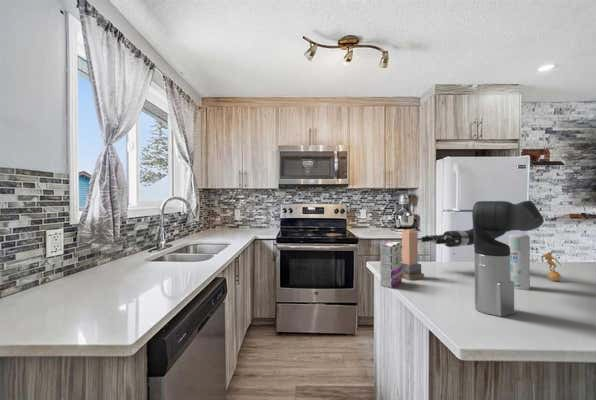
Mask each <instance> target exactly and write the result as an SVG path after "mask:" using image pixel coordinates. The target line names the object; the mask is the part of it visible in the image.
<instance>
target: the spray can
mask: <svg viewBox="0 0 596 400" xmlns="http://www.w3.org/2000/svg"><path fill="white" fill-rule="evenodd" d="M530 236H531V235H527V234H509V235H508V246H509V247H510V279H511V281H513V282H514V290H522V291H523V290H525V291H528V290H530V289H531V279H530V278H531V269H530V268H531V264H530V263H531V259H530V257H531V256H530V255H531V251H530V250H531V249H530V248H531V245H530V244H531V242H530V241H531V239H530V238H531V237H530Z"/></svg>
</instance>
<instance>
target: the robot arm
mask: <svg viewBox="0 0 596 400" xmlns="http://www.w3.org/2000/svg"><path fill="white" fill-rule="evenodd" d="M471 218H472V228H471V229H468V230H447V231H444V233H443V234H438V235H437V234H434V235H427V234H426V235H425V236H422V237H421V242H422V243H423V242H424V243H426V242H428V243H429V242H432V243H435V244H436V245H444V246H446V247H447V248H456V247H457V248H458V247H463V246H472V245H473V248H474V308H475V309H476V310H477V311H478V312H481V313H484V314H487V315H492V316H498V317H504V316H510V315H514V314H515V288H514V282H513V281H511V279H510V247H509V244H507V243H504V242H501V241H499V240H497V239H498V238H499V237H502V236H504V235H505V234H506V233H508V232H511V231H521V232H529V231H533V230H536V229H538V228H540V227H541V226H542V225H543V224H544V217H543V215H542V214H541V212H540V211H539V209H538V208H537V206H536V205H535V203H534V202H533V201H531V200H523V201H521V202H518V203H512V202H510V201H505V200H481V201H476V202H475V203H474V204H473V207H472V217H471Z"/></svg>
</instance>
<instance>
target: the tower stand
mask: <svg viewBox="0 0 596 400" xmlns="http://www.w3.org/2000/svg"><path fill="white" fill-rule="evenodd" d="M401 277H402V279H405V280H408V281H417V280H423V278H424V279H425V274H424V273H422V264H421V263H418V264H414V265H408V264H404V263H402V262H401Z"/></svg>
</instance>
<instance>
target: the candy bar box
mask: <svg viewBox="0 0 596 400" xmlns="http://www.w3.org/2000/svg"><path fill="white" fill-rule="evenodd" d="M379 256H380V257H379V259H380V260H379V261H380V287H383V288H388V289H389V288H390V289H393V288H395V287H396V286H398V285H400V284H401V283H402V279H403V278H402V277H401V263H402V242H396V241H389V242H386V243H383V244H380V245H379Z"/></svg>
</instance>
